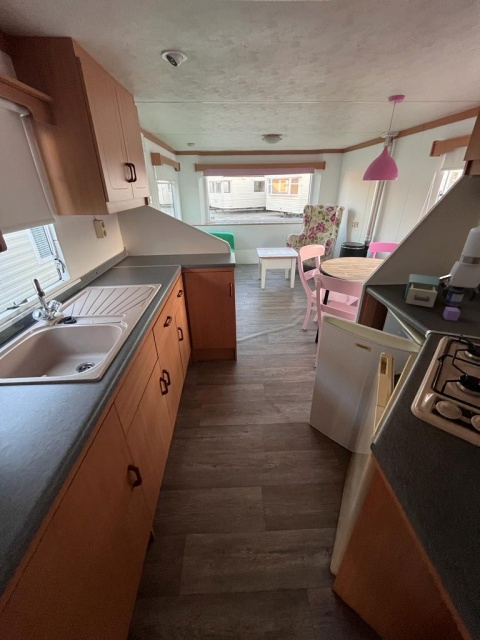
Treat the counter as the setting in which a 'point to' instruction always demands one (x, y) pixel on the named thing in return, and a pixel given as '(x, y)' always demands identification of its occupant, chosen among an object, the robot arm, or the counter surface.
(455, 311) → the purple cube
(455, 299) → the pill bottle
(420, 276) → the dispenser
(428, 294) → the drawer
